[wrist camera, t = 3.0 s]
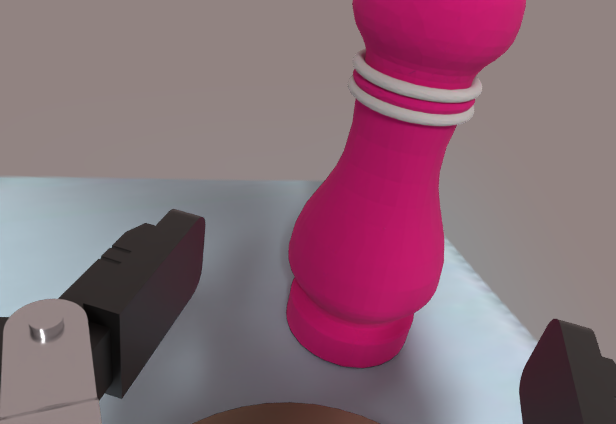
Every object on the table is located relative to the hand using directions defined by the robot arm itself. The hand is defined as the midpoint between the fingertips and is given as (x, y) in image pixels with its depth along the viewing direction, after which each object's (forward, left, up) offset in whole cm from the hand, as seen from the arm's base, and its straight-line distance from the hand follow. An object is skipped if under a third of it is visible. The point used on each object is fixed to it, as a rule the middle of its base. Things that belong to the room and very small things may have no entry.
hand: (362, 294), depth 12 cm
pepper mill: (-5, +10, -11) cm, 16 cm away
